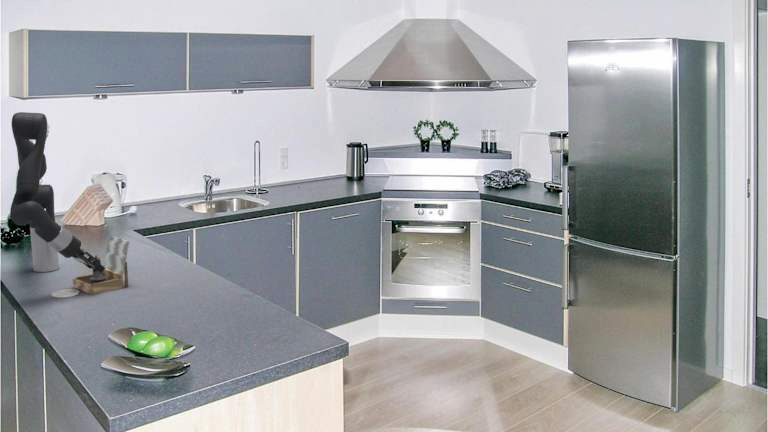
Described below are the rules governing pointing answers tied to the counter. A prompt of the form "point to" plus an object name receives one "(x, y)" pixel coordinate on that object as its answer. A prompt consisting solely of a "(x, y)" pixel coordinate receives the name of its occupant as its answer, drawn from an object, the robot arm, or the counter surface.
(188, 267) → the counter surface
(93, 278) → the grey tall domed piece
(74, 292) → the saucer
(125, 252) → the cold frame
